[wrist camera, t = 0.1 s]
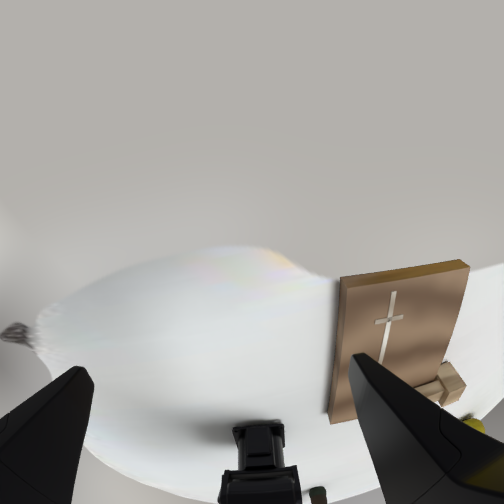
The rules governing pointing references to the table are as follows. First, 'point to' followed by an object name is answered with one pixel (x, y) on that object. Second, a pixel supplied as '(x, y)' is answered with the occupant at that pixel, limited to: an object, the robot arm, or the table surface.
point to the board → (396, 325)
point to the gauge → (444, 386)
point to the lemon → (475, 424)
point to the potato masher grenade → (318, 495)
